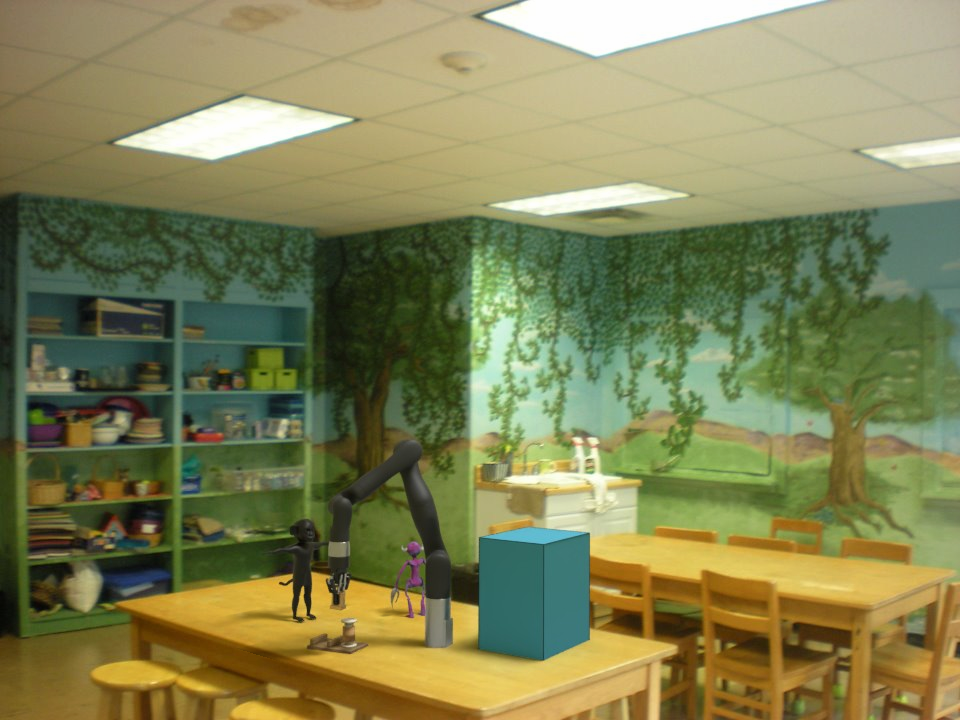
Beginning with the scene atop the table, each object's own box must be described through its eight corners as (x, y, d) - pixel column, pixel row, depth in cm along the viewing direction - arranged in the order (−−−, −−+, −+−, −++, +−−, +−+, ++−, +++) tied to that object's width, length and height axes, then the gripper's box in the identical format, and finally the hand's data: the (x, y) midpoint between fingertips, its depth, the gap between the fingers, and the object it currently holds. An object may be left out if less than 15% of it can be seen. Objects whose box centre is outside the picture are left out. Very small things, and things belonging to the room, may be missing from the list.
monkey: (271, 630, 374) (273, 525, 375) (238, 622, 387) (240, 520, 388) (348, 612, 404) (349, 515, 405) (316, 605, 417) (316, 511, 418)
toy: (425, 610, 409) (426, 538, 410) (438, 614, 402) (439, 540, 403) (387, 617, 397) (388, 542, 398) (400, 621, 390) (400, 545, 391)
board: (368, 646, 351) (368, 617, 351) (350, 654, 340) (351, 624, 340) (325, 641, 358) (325, 612, 359) (307, 649, 347) (307, 619, 348)
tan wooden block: (346, 608, 342) (346, 591, 343) (340, 610, 339) (341, 593, 339) (335, 606, 344) (336, 589, 344) (329, 608, 341) (330, 591, 341)
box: (478, 651, 346) (478, 537, 347) (527, 632, 374) (527, 526, 375) (543, 663, 331) (543, 544, 332) (589, 642, 359) (590, 532, 360)
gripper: (337, 558, 334) (336, 609, 334) (358, 552, 347) (357, 601, 347) (318, 556, 337) (318, 607, 337) (340, 550, 350) (339, 599, 350)
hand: (338, 603), depth 342 cm, fingers closed on tan wooden block, 2 cm apart
